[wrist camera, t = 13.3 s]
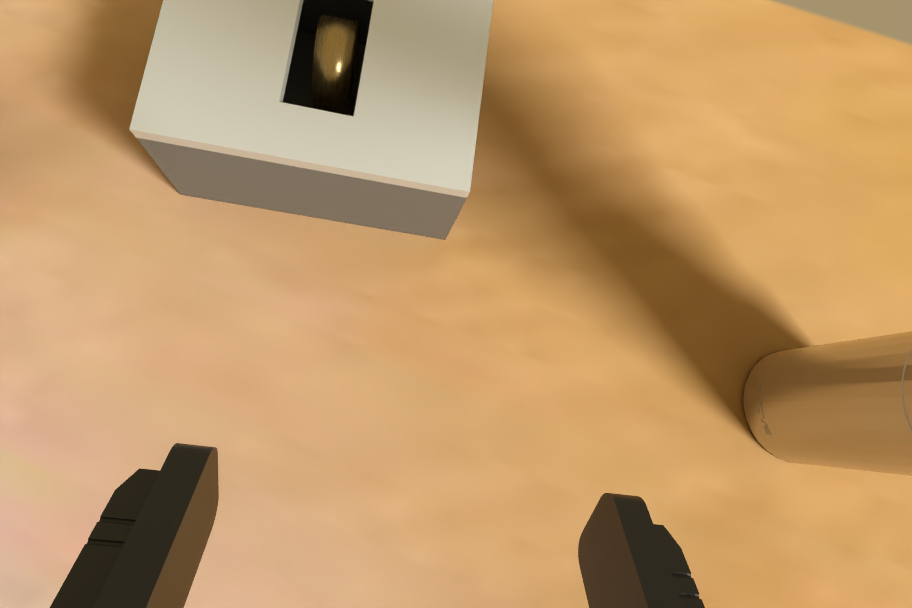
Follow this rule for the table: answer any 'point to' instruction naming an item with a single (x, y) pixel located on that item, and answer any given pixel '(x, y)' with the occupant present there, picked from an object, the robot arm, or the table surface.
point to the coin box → (311, 130)
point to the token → (335, 65)
